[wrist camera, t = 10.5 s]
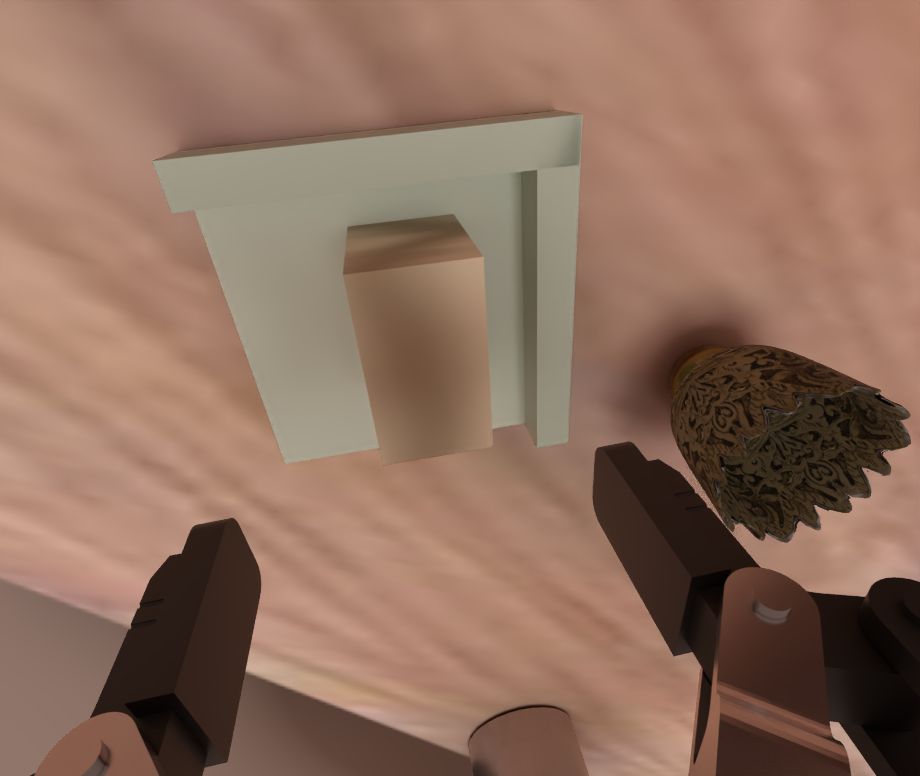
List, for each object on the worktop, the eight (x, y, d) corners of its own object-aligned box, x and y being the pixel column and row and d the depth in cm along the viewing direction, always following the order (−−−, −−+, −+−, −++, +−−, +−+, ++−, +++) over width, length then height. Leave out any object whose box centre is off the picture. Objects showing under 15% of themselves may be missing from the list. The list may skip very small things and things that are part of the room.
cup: (598, 398, 25) (684, 512, 19) (701, 276, 23) (845, 359, 16) (691, 448, 28) (794, 561, 22) (792, 345, 26) (945, 439, 19)
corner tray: (551, 412, 25) (567, 442, 23) (286, 457, 24) (279, 493, 22) (556, 110, 18) (582, 114, 16) (178, 150, 17) (151, 161, 15)
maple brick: (453, 214, 19) (483, 257, 14) (466, 372, 23) (493, 446, 18) (347, 226, 18) (343, 274, 14) (378, 385, 22) (382, 465, 17)
